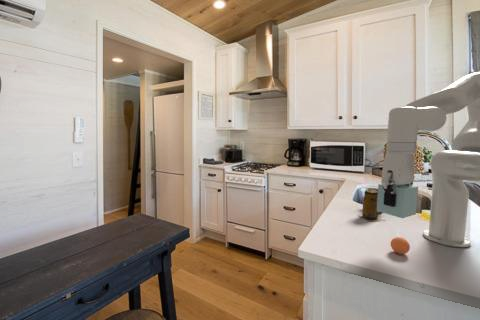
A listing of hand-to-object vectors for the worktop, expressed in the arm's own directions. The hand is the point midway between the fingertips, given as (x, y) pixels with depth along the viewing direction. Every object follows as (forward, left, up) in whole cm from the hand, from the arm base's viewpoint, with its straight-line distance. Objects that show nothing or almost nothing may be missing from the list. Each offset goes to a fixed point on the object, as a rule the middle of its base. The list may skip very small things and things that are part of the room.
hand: (396, 203), depth 73 cm
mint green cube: (0, 0, -3) cm, 3 cm away
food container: (-34, -25, -16) cm, 45 cm away
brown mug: (-22, -21, -16) cm, 35 cm away
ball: (0, +2, -13) cm, 13 cm away
